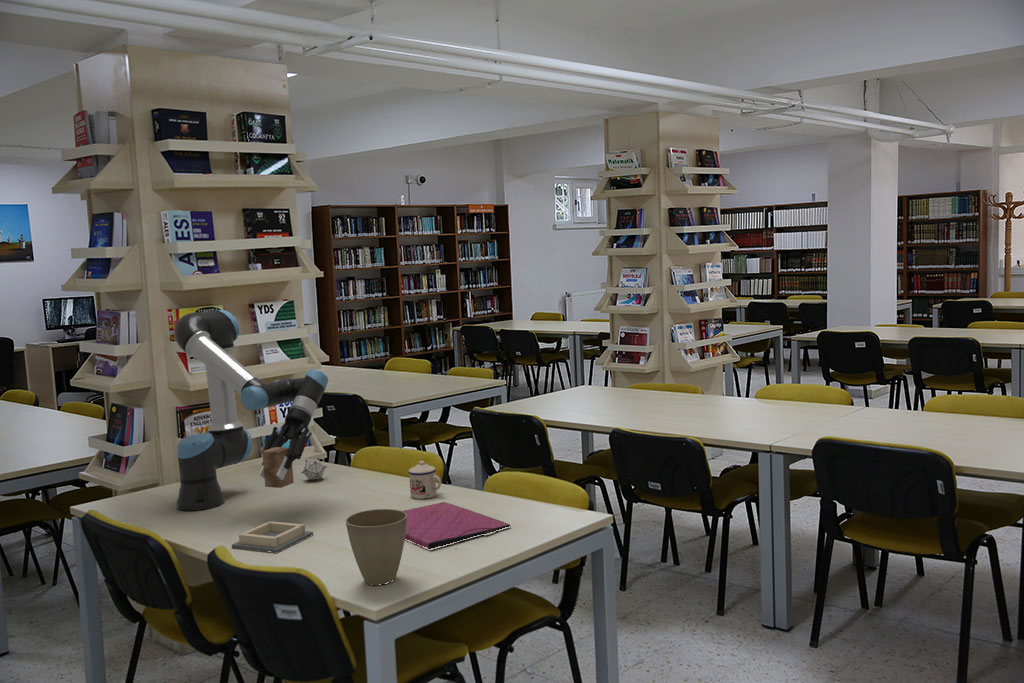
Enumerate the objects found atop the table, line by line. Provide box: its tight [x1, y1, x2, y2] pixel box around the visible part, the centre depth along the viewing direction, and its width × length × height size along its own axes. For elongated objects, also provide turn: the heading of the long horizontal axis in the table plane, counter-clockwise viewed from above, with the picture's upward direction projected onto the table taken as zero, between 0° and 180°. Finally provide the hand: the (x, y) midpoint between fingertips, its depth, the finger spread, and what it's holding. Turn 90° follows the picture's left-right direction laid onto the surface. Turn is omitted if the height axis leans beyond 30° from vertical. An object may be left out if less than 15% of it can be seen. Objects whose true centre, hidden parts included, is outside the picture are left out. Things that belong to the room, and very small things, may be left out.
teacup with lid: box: [408, 460, 442, 500], centre depth 290 cm, size 12×9×12 cm
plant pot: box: [345, 508, 407, 586], centre depth 215 cm, size 15×15×16 cm
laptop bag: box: [402, 501, 511, 549], centre depth 256 cm, size 40×4×27 cm
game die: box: [301, 457, 328, 483], centre depth 321 cm, size 9×8×10 cm
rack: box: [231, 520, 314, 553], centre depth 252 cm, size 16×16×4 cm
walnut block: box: [261, 446, 294, 489], centre depth 268 cm, size 6×6×11 cm
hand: (270, 476), depth 265 cm, fingers closed on walnut block, 6 cm apart
